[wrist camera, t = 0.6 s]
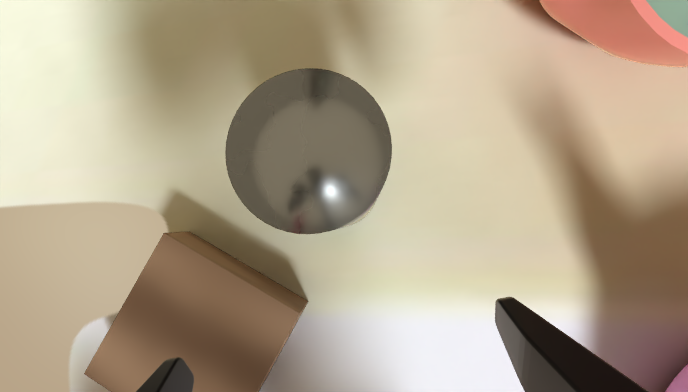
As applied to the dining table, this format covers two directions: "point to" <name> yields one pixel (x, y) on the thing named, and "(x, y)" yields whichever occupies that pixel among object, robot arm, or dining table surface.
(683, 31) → the cell model
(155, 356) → the walnut box
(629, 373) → the dining table surface
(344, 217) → the tea tin
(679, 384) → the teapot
